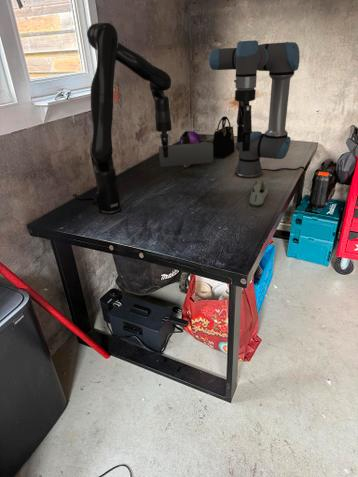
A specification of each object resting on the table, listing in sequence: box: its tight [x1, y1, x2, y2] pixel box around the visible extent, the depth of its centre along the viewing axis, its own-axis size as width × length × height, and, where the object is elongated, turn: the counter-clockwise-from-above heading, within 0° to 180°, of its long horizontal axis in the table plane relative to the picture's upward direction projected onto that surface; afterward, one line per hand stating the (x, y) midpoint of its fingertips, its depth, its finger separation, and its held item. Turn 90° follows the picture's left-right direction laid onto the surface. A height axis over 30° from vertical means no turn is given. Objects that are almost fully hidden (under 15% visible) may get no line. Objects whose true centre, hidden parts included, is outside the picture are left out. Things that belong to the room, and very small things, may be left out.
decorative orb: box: [178, 130, 202, 145], centre depth 230 cm, size 15×15×15 cm
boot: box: [181, 130, 192, 169], centre depth 209 cm, size 9×24×20 cm, turn 168°
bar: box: [158, 142, 214, 168], centre depth 164 cm, size 27×5×9 cm, turn 94°
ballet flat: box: [249, 179, 269, 207], centre depth 158 cm, size 8×24×8 cm, turn 163°
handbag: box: [212, 115, 236, 159], centre depth 219 cm, size 21×9×25 cm, turn 148°
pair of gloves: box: [201, 133, 214, 143], centre depth 252 cm, size 30×26×5 cm
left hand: (165, 155), depth 163 cm, fingers closed on bar, 5 cm apart
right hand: (242, 146), depth 133 cm, fingers open, 13 cm apart
